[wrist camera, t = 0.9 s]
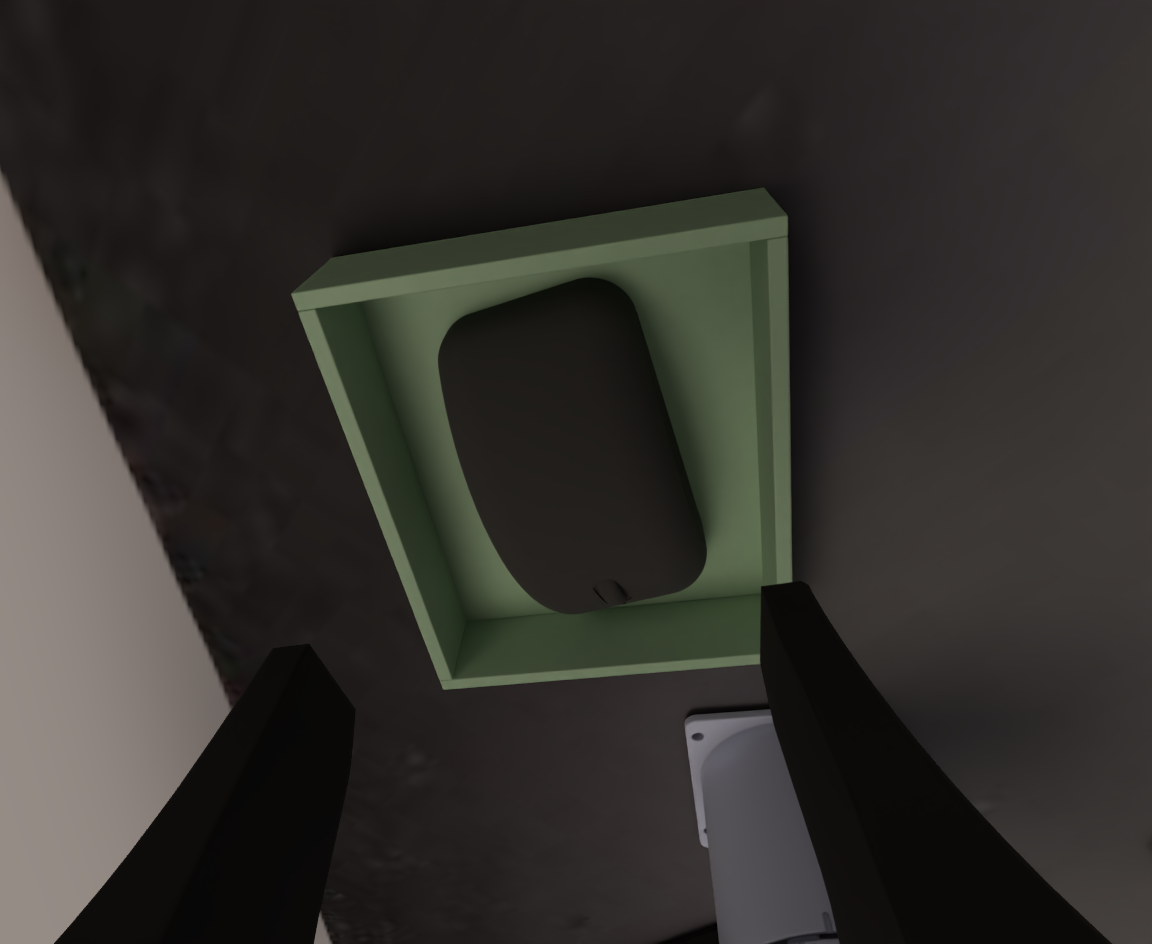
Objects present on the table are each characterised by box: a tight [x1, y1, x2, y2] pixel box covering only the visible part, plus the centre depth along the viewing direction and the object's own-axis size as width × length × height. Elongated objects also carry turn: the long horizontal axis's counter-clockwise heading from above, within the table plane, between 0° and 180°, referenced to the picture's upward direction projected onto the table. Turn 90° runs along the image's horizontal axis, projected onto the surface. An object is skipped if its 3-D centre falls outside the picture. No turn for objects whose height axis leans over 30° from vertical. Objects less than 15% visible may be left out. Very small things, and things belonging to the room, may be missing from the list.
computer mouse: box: [438, 277, 707, 614], centre depth 23 cm, size 6×11×4 cm, turn 19°
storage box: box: [291, 188, 792, 690], centre depth 23 cm, size 15×12×3 cm
